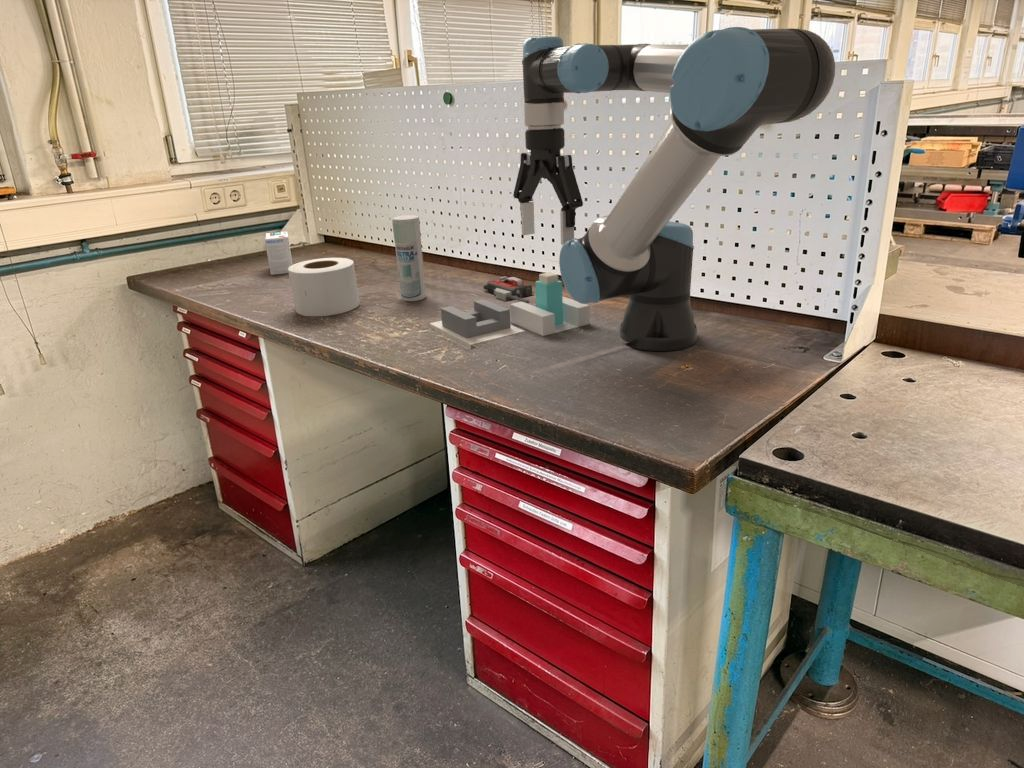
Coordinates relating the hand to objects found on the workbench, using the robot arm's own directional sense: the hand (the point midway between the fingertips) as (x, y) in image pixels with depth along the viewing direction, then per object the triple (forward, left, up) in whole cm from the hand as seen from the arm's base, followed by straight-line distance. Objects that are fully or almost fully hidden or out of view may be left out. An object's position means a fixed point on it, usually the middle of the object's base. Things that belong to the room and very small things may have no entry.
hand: (547, 239), depth 140 cm
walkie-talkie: (+26, -8, -19) cm, 33 cm away
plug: (0, 0, -18) cm, 18 cm away
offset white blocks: (0, 0, -19) cm, 19 cm away
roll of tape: (+49, +32, -19) cm, 61 cm away
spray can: (+42, +12, -19) cm, 47 cm away
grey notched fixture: (+8, +14, -19) cm, 24 cm away
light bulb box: (+99, +29, -19) cm, 105 cm away
